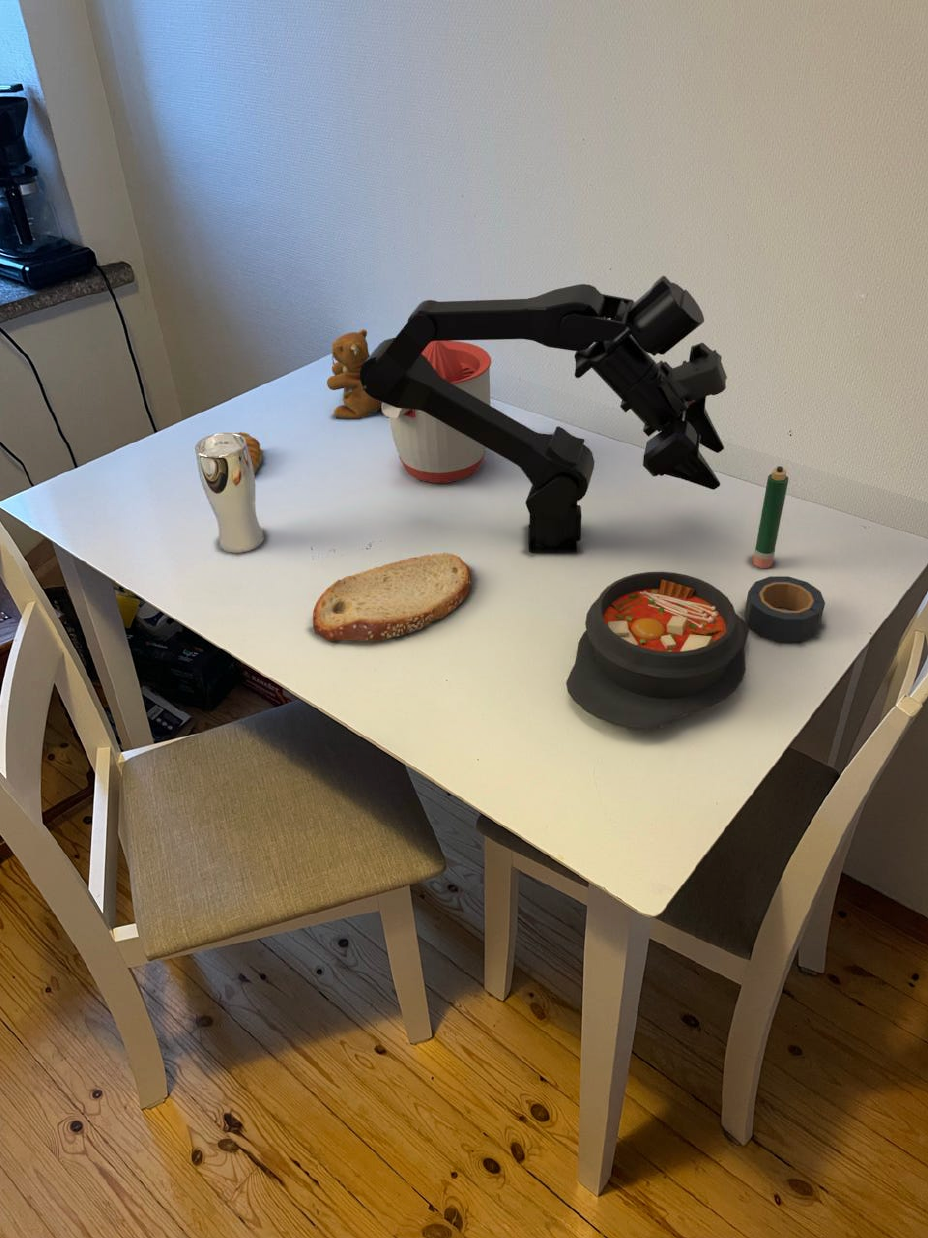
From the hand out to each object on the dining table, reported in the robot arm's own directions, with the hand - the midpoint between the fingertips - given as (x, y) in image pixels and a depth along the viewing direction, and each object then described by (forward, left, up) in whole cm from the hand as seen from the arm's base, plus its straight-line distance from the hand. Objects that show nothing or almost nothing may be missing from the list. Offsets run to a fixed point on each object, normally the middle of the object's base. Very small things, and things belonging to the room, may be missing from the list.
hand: (719, 468), depth 117 cm
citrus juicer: (-37, +24, -13) cm, 46 cm away
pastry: (-68, +26, -13) cm, 74 cm away
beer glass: (-63, +4, -13) cm, 65 cm away
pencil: (+7, -1, -13) cm, 15 cm away
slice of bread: (-40, -10, -13) cm, 43 cm away
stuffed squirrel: (-50, +45, -13) cm, 69 cm away
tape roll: (+7, -13, -13) cm, 20 cm away
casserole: (-9, -22, -13) cm, 27 cm away
